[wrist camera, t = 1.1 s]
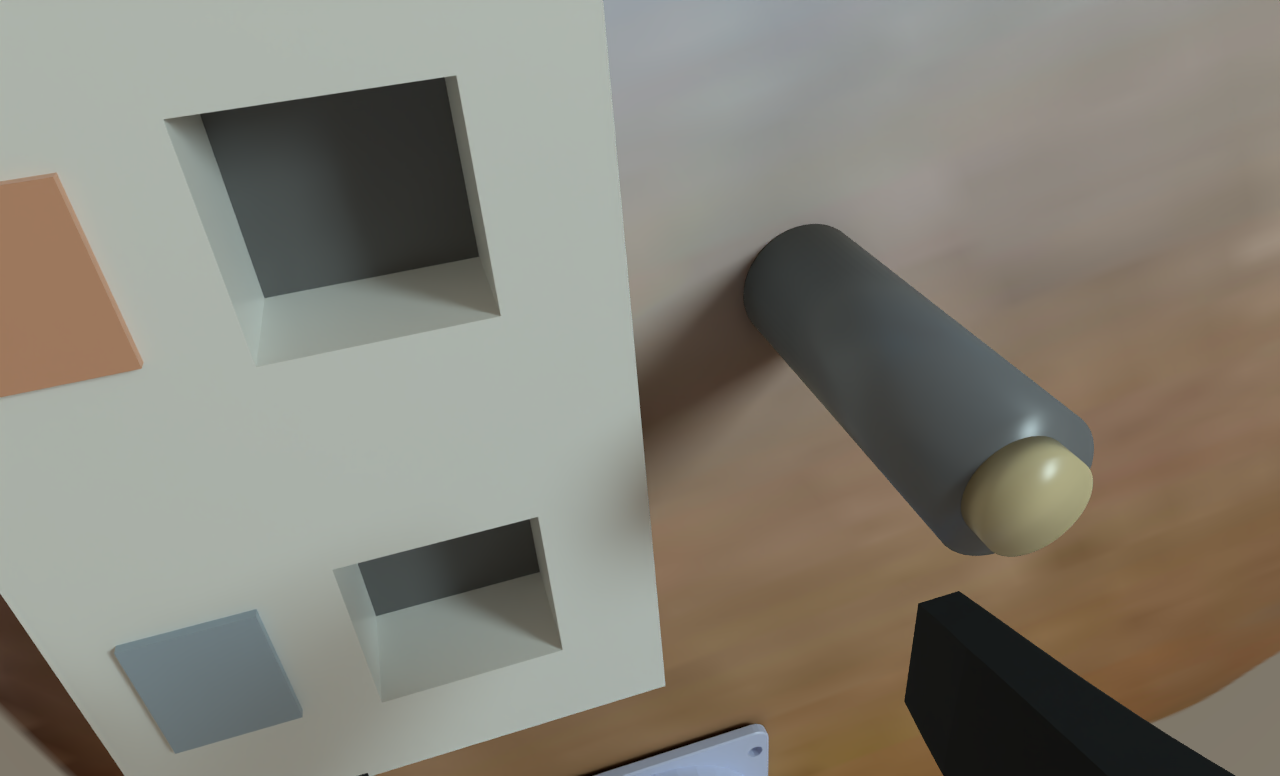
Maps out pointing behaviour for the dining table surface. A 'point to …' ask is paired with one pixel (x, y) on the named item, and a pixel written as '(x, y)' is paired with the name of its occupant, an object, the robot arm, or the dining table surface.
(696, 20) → the dining table surface
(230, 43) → the socket block
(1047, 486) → the plug
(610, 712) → the dining table surface
